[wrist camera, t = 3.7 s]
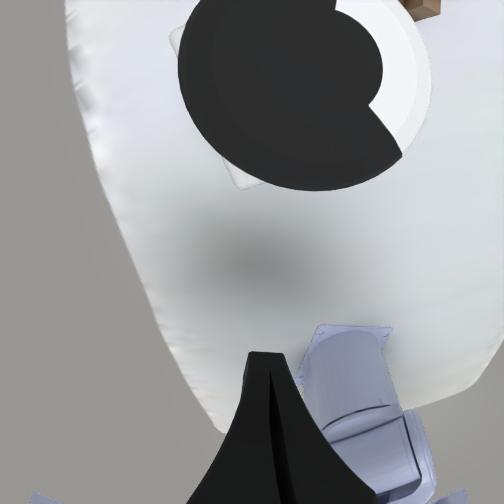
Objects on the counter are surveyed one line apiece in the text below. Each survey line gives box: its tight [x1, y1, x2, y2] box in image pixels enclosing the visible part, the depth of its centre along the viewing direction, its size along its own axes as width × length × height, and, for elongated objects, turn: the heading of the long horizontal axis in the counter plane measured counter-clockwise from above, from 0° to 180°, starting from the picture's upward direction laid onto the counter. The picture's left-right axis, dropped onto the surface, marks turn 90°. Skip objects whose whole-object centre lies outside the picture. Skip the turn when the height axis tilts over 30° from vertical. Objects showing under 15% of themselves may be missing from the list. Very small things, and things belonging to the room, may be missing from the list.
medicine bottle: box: [169, 0, 432, 191], centre depth 10 cm, size 7×7×12 cm
